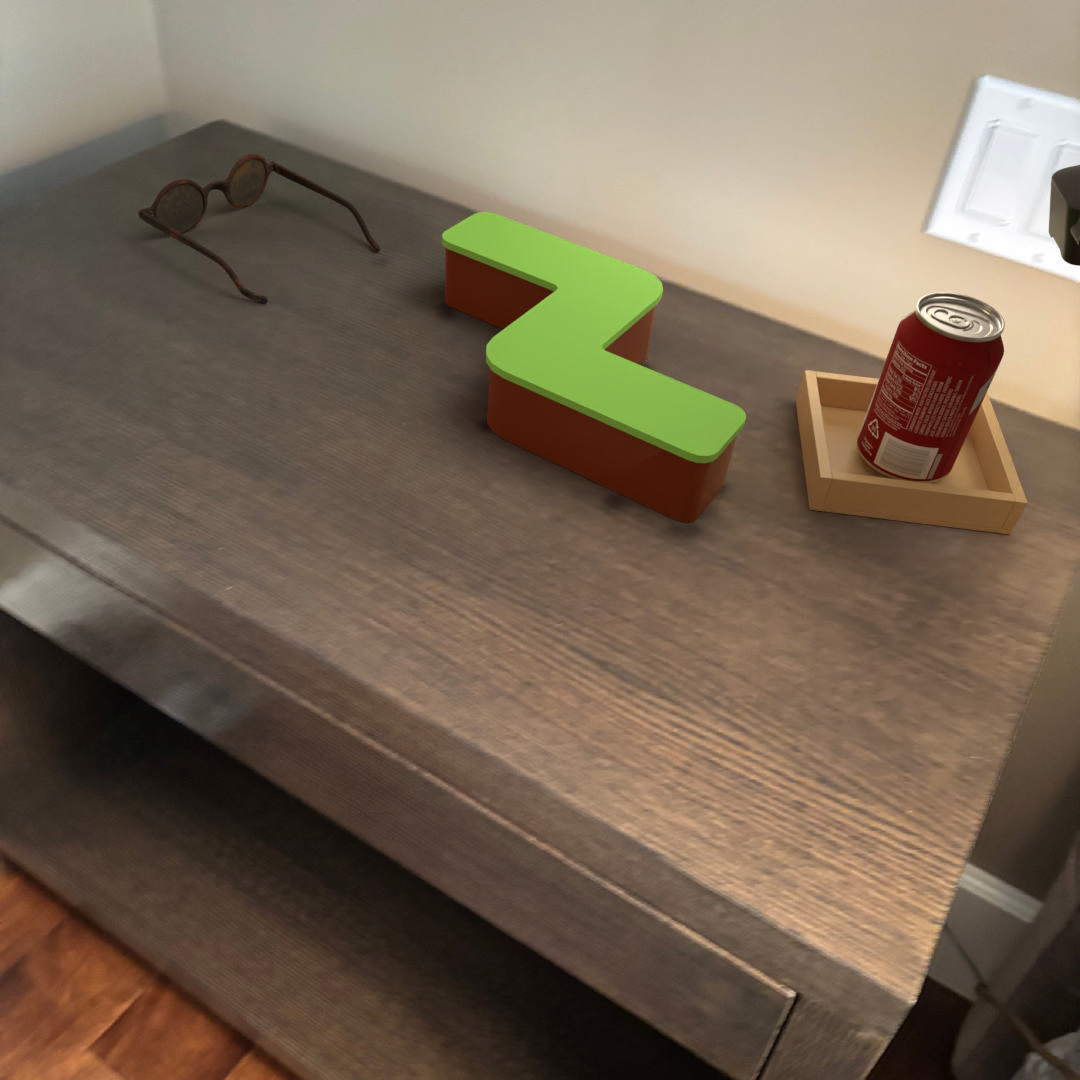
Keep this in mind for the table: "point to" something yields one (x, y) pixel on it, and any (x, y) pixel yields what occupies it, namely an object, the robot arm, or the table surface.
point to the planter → (586, 366)
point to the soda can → (931, 387)
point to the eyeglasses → (242, 187)
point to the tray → (857, 489)
